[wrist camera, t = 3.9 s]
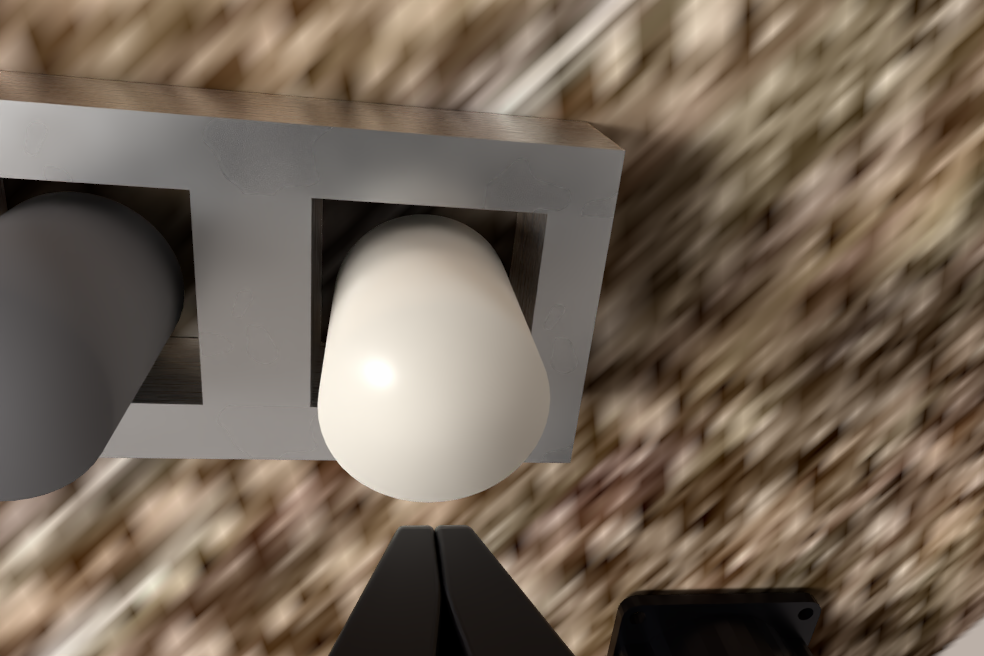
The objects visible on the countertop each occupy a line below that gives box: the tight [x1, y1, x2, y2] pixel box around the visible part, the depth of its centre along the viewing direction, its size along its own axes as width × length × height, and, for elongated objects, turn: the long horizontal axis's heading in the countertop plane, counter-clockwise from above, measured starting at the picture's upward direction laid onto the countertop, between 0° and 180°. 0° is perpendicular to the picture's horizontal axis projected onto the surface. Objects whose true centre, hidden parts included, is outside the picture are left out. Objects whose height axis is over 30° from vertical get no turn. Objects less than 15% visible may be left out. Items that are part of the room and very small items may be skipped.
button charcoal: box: [0, 192, 184, 501], centre depth 13 cm, size 4×4×4 cm
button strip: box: [0, 71, 625, 463], centre depth 15 cm, size 20×7×3 cm, turn 84°
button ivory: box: [318, 214, 550, 502], centre depth 14 cm, size 4×4×4 cm
